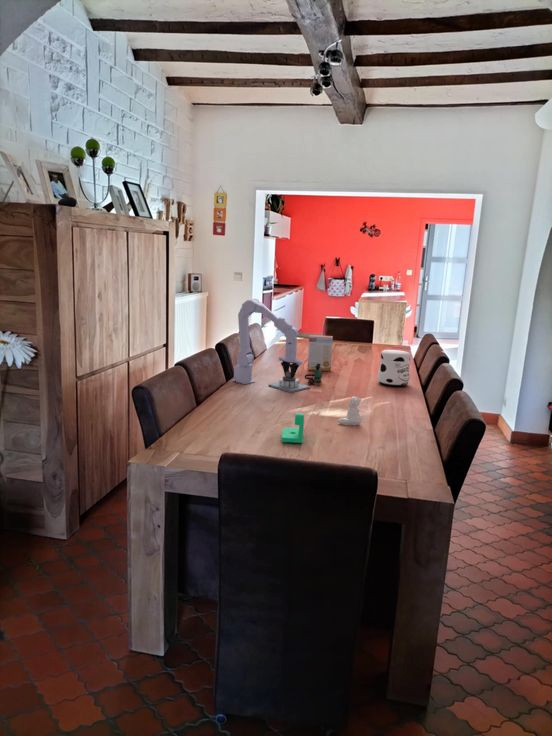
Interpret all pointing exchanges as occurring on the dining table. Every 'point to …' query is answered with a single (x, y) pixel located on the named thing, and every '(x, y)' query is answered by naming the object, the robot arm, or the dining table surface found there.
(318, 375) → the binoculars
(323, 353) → the cracker box
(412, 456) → the dining table surface
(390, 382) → the milk container
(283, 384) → the segmented white ring
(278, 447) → the dining table surface
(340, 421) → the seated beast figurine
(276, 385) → the mount plate
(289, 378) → the grey rounded knob
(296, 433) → the camera mount
